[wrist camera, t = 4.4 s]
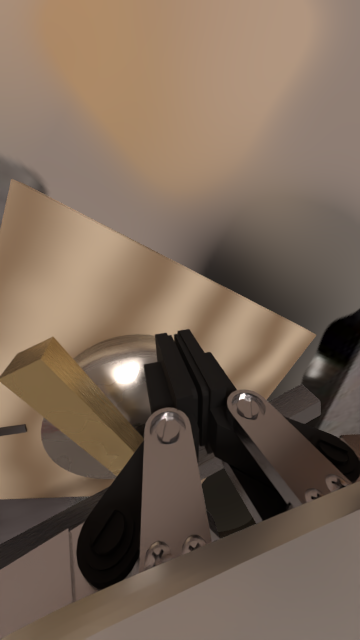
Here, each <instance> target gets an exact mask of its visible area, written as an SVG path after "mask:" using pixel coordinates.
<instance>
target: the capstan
mask: <svg viewBox="0 0 360 640" xmlns="http://www.w3.org/2000/svg"><path fill="white" fill-rule="evenodd" d="M154 362H157V353H156V343H155V336H153V335H143V334H134V335H124V336H118V337H114V338H110V339H107V340H104V341H102V342H99V343H97V344H94V345H93V346H91V347H89V348H87V349H86V350H84V351H83V352H81V353H80V354H79V355H77V356H76V357H75V358H74V359H73V358H72V357H71V356H70V355H69V354H68V352H67V351H66V350H65V349H64V348H63V347H62V346H61V345H60V343H59V342H58V341H57V340H56V339H55V338H54V337H51V338H49V339H47V340H45V341H42V342H40V343H38V344H36V345H34V346H32V347H30V348H28V349H26V350H24V351H22V352H19V353H17V355H16V356H15V357H14V359H13V360H12V361H11V362H10V364H9V365H8V366H7V368H6V369H5V370H4V372H3V373H2V374H1V376H0V382H1V383H2V384H3V385H5V386H6V387H7V388H8V389H9V390H11V391H12V392H13V393H14V394H16V395H17V396H18V397H19V398H21V399H22V400H23V401H24V402H26V403H27V404H28V405H29V406H30V407H32V408H33V409H34V410H35V411H37V412H38V413H39V414H40V415H42V416H43V417H44V418H43V421H42V426H41V440H42V443H43V447H44V449H45V451H46V452H47V454H48V456H49V457H50V458H51V459H52V460H53V461H54V462H55V463H56V464H57V465H59V466H60V467H62V468H63V469H65V470H67V471H69V472H71V473H74V474H76V475H80V476H84V477H89V478H95V479H116V477H117V476H118V474H119V473H120V472H121V470H122V469H123V468H124V466H125V465H126V464H127V462H128V461H129V459H130V458H131V457H132V455H133V454H134V453H135V451H136V450H137V449H138V447H139V446H140V444H141V443H142V442H143V440H144V430H145V425H146V422H147V420H148V418H149V417H150V416H151V410H150V404H149V398H148V392H147V386H146V379H145V372H144V364H149V363H154ZM268 402H269V403H270V404H271V405H272V406H273V407H274V408H275V409H276V410H277V411H278V412H279V413H280V414H281V415H282V416H285V417H287V418H290V419H292V420H295V421H298V422H300V423H303V424H305V423H307V422H308V421H310V420H312V419H314V418H316V417H318V416H319V415H321V405H320V400H319V399H318V398H317V397H315V396H314V395H313V394H312V393H311V392H310V391H309V390H308V389H306V388H305V387H304V386H303V385H302V384H300V385H298V386H297V387H295V388H293V389H291V390H289V391H287V392H285V393H284V394H282V395H280V396H278V397H276V398H274V399H272V400H270V401H268ZM198 468H199V474H200V479H201V480H202V479H204V478H206V477H208V476H210V475H212V474H213V473H215V472H217V471H219V470H221V469H222V468H224V466H223V464H222V461H221V460H220V459H218V458H217V457H215V456H214V454H213V453H210V454H207V452H206V449H205V446H202V447H200V445H199V458H198ZM109 487H110V486H109ZM109 487H107V488H105V489H103V490H102V491H100V492H98V493H96V494H94V495H92V496H90V497H88V498H87V499H85V500H83V501H81V502H79V503H77V504H75V505H73V506H72V507H70V508H68V509H66V510H64V511H62V512H60V513H58V514H57V515H55V516H53V517H51V518H49V519H47V520H45V521H43V522H42V523H40V524H38V525H36V526H34V527H32V528H30V529H28V530H27V531H25V532H23V533H21V534H19V535H17V536H15V537H13V538H12V539H10V540H8V541H6V542H4V543H2V544H0V570H1V569H2V568H4V567H6V566H7V565H9V564H11V563H12V562H14V561H15V560H17V559H19V558H20V557H22V556H24V555H25V554H27V553H29V552H30V551H32V550H33V549H35V548H37V547H38V546H40V545H42V544H43V543H45V542H46V541H48V540H50V539H51V538H53V537H55V536H56V535H58V534H60V533H61V532H63V531H64V530H66V529H69V530H70V531H71V530H73V529H74V528H76V527H77V526H79V525H81V524H82V523H84V522H85V521H86V519H87V517H88V516H89V514H90V513H91V511H92V510H93V508H94V507H95V506H96V504H97V503H98V502H99V500H100V499H101V498H102V496H103V495H104V493H105V492H106V491H107V489H108V488H109ZM206 512H207V517H208V523H209V528H210V534H211V539H212V542H214V541H217V540H218V539H220V538H219V534H218V531H217V528H216V525H215V522H214V519H213V517H212V515H211V514H210V513H209V512H208V511H207V510H206Z"/></svg>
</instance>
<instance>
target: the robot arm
mask: <svg viewBox="0 0 360 640" xmlns="http://www.w3.org/2000/svg"><path fill="white" fill-rule="evenodd" d="M155 343H156V353H157V362H154V363H149V364H144V372H145V379H146V386H147V392H148V398H149V404H150V410H151V416H150V417H149V418H148V420H147V422H146V425H145V430H144V440H143V442H142V443H141V444H140V446H139V447H138V449H137V450H136V451H135V453H134V454H133V455H132V457H131V458H130V459H129V461H128V462H127V464H126V465H125V466H124V468H123V469H122V470H121V472H120V473H119V474H118V476H117V477H116V479H115V480H114V481H113V483H112V484H111V485H110V487H109V488H108V489H107V491H106V492H105V493H104V495H103V496H102V498H101V499H100V500H99V502H98V503H97V504H96V506H95V507H94V508H93V510H92V511H91V513H90V514H89V516H88V517H87V519H86V521H85V522H84V523H82V524H81V525H79V526H77V527H76V528H74V529H73V530H71V531H70V530H69V529H66V530H64V531H63V532H61V533H60V534H58V535H56V536H55V537H53V538H51V539H50V540H48V541H46V542H45V543H43V544H42V545H40V546H38V547H37V548H35V549H33V550H32V551H30V552H29V553H27V554H25V555H24V556H22V557H20V558H19V559H17V560H15V561H14V562H12V563H11V564H9V565H7V566H6V567H4V568H2V569H1V570H0V640H360V434H351V435H341V436H340V438H338V437H336V436H333V435H331V434H329V433H327V432H324V431H321V430H319V429H316V428H313V427H311V426H308V425H306V424H303V423H300V422H298V421H295V420H292V419H290V418H287V417H285V416H282V415H281V414H280V413H279V412H278V411H277V410H276V409H275V408H274V407H273V406H272V405H271V404H270V403H269V402H268V401H267V400H266V399H265V398H264V397H262V396H261V395H260V394H258V393H256V392H254V391H250V390H237V389H236V388H235V386H234V385H233V383H232V382H231V380H230V379H229V378H228V376H227V375H226V373H225V372H224V370H223V369H222V367H221V366H220V365H219V363H218V362H217V360H216V359H215V357H214V356H213V354H212V353H211V352H206V353H205V352H204V351H203V349H202V348H201V346H200V345H199V343H198V342H197V340H196V339H195V337H194V335H193V334H192V332H191V331H190V329H186V330H179V331H178V332H177V334H174V340H173V337H172V335H167V333H161V334H155ZM199 445H200V447H202V446H205V449H206V452H207V454H210V453H213V454H214V456H215V457H217V458H218V459H220V460H221V461H222V464H223V466H224V468H225V470H226V472H227V473H228V475H229V477H230V479H231V480H232V482H233V484H234V486H235V487H236V489H237V491H238V492H239V494H240V496H241V498H242V499H243V501H244V503H245V504H246V506H247V508H248V510H249V511H250V513H251V515H252V516H253V518H254V520H255V522H256V523H257V524H255V525H253V526H250V527H248V528H245V529H243V530H241V531H238V532H236V533H233V534H231V535H229V536H226V537H224V538H222V539H219V540H217V541H214V542H212V539H211V534H210V528H209V523H208V517H207V512H206V506H205V501H204V496H203V490H202V485H201V479H200V474H199V468H198V458H199Z"/></svg>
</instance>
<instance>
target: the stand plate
mask: <svg viewBox="0 0 360 640" xmlns="http://www.w3.org/2000/svg"><path fill="white" fill-rule="evenodd" d="M186 329H190V331H191V332H192V334H193V335H194V337H195V339H196V340H197V342H198V343H199V345H200V346H201V348H202V349H203V351H204V352H205V353H206V352H211V353H212V354H213V356H214V357H215V359H216V360H217V362H218V363H219V365H220V366H221V367H222V369H223V370H224V372H225V373H226V375H227V376H228V378H229V379H230V380H231V382H232V383H233V385H234V386H235V388H236V389H237V390H250V391H254V392H256V393H258V394H260V395H261V396H262V397H264V398H265V399H266V400H267V398H268V397H269V396H270V394H271V393H272V392H273V390H274V389H275V388H276V387H277V385H278V384H279V383H280V381H281V380H282V379H283V378H284V376H285V375H286V374H287V372H288V371H289V370H290V368H291V367H292V366H293V365H294V363H295V362H296V361H297V360H298V358H299V357H300V356H301V354H302V353H303V352H304V350H305V349H306V348H307V346H308V345H309V344H310V342H311V341H312V340H313V339H314V338H315V336H316V334H314V333H312V332H310V331H309V330H307V329H305V328H303V327H301V326H299V325H297V324H295V323H293V322H292V321H290V320H287V319H286V318H284V317H282V316H280V315H278V314H276V313H274V312H272V311H270V310H268V309H266V308H264V307H262V306H260V305H259V304H256V303H255V302H253V301H251V300H249V299H247V298H245V297H242V296H241V295H239V294H237V293H235V292H233V291H231V290H229V289H227V288H225V287H224V286H222V285H220V284H218V283H216V282H214V281H212V280H210V279H208V278H206V277H204V276H202V275H200V274H198V273H196V272H194V271H192V270H190V269H189V268H187V267H185V266H183V265H181V264H179V263H177V262H175V261H173V260H171V259H169V258H167V257H165V256H163V255H161V254H159V253H157V252H155V251H154V250H152V249H150V248H148V247H146V246H144V245H142V244H140V243H138V242H136V241H134V240H132V239H130V238H128V237H126V236H124V235H122V234H120V233H119V232H116V231H115V230H113V229H111V228H109V227H107V226H105V225H103V224H101V223H99V222H97V221H95V220H93V219H91V218H89V217H87V216H85V215H84V214H82V213H80V212H78V211H76V210H74V209H72V208H70V207H68V206H66V205H64V204H62V203H60V202H58V201H56V200H54V199H52V198H51V197H49V196H47V195H45V194H43V193H41V192H39V191H37V190H35V189H33V188H31V187H29V186H27V185H25V184H23V183H21V182H18V181H15V180H13V179H11V184H10V188H9V193H8V197H7V202H6V206H5V211H4V215H3V220H2V224H1V228H0V376H1V374H2V373H3V372H4V370H5V369H6V368H7V366H8V365H9V364H10V362H11V361H12V360H13V359H14V357H15V356H16V355H17V353H19V352H22V351H24V350H26V349H28V348H30V347H32V346H34V345H36V344H38V343H40V342H42V341H45V340H47V339H49V338H51V337H54V338H55V339H56V340H57V341H58V342H59V343H60V345H61V346H62V347H63V348H64V349H65V350H66V351H67V352H68V354H69V355H70V356H71V357H72V358H73V359H74V358H75V357H76V356H77V355H79V354H80V353H81V352H83V351H84V350H86V349H87V348H89V347H91V346H93V345H94V344H97V343H99V342H102V341H104V340H107V339H110V338H114V337H118V336H124V335H134V334H143V335H153V336H155V334H161V333H167V335H172V337H173V340H174V334H177V332H178V331H179V330H186ZM43 418H44V417H43V416H42V415H40V414H39V413H38V412H37V411H35V410H34V409H33V408H32V407H30V406H29V405H28V404H27V403H26V402H24V401H23V400H22V399H21V398H19V397H18V396H17V395H16V394H14V393H13V392H12V391H11V390H9V389H8V388H7V387H6V386H5V385H3V384H2V383H1V382H0V499H22V498H51V497H79V496H92V495H94V494H96V493H98V492H100V491H102V490H103V489H105V488H107V487H109V486H110V485H111V484H112V483H113V481H114V480H115V479H95V478H89V477H84V476H80V475H76V474H74V473H71V472H69V471H67V470H65V469H63V468H62V467H60V466H59V465H57V464H56V463H55V462H54V461H53V460H52V459H51V458H50V457H49V456H48V454H47V452H46V451H45V449H44V447H43V443H42V440H41V426H42V421H43ZM205 479H206V478H204V479H202V480H201V484H202V482H203V481H204V480H205Z"/></svg>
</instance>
